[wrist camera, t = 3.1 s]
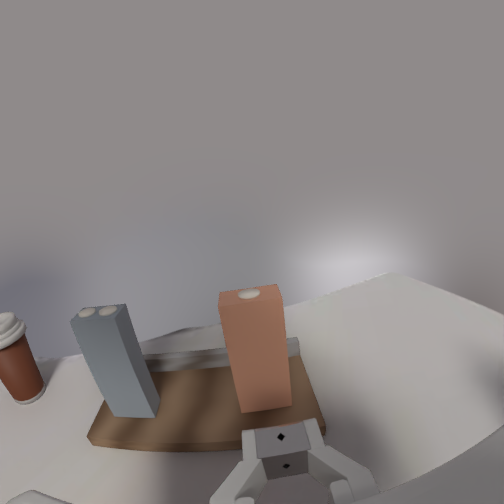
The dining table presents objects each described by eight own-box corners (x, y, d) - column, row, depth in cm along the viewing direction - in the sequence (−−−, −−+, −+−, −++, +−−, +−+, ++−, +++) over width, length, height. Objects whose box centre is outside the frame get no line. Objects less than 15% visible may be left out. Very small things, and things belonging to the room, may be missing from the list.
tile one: (241, 413, 25) (217, 304, 22) (240, 394, 28) (219, 290, 25) (292, 405, 25) (281, 295, 22) (287, 387, 28) (276, 281, 25)
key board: (92, 445, 22) (77, 423, 21) (129, 365, 37) (121, 346, 36) (325, 434, 22) (326, 411, 21) (294, 348, 38) (293, 326, 37)
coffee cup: (56, 372, 35) (27, 304, 32) (48, 406, 27) (8, 329, 24) (15, 379, 31) (-15, 314, 28) (2, 412, 23) (-38, 339, 20)
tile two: (114, 416, 25) (69, 319, 22) (121, 399, 28) (82, 306, 25) (155, 418, 25) (113, 315, 22) (160, 399, 28) (125, 301, 25)
